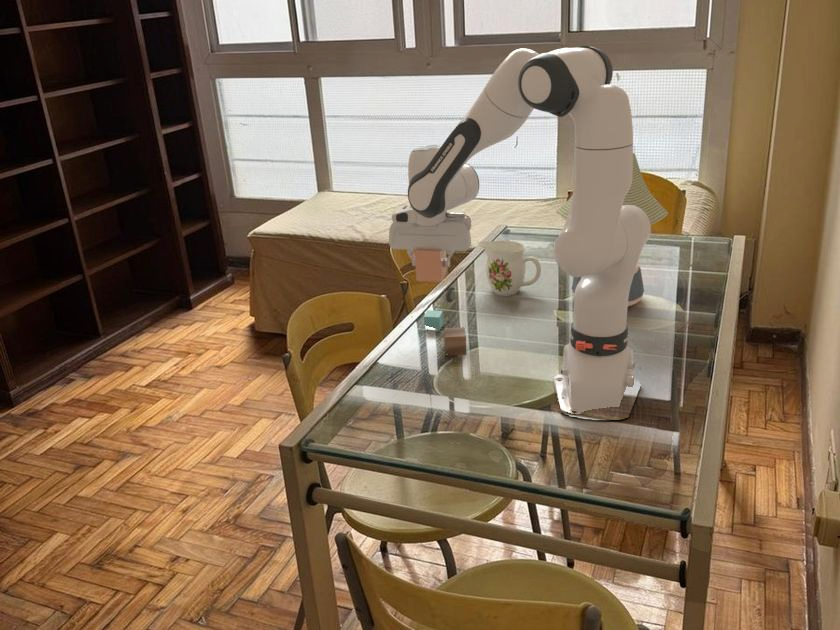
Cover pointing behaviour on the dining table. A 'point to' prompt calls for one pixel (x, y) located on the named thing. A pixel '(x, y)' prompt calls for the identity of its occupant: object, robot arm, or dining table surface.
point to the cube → (434, 319)
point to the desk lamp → (653, 210)
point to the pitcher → (507, 266)
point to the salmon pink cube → (430, 265)
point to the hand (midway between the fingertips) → (431, 265)
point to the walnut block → (455, 341)
